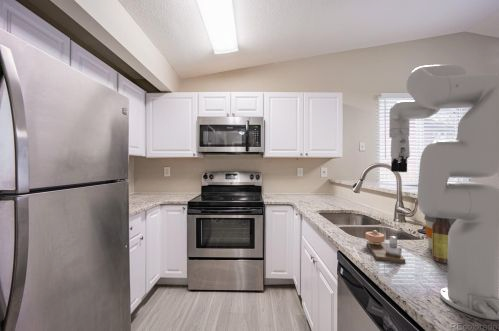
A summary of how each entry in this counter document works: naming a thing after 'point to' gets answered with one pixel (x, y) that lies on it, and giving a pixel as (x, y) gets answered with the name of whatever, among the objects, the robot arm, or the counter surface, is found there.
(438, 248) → the sauce bottle
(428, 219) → the reusable coffee cup
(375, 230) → the hub post
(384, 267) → the counter surface
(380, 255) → the board
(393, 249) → the storage rod
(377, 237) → the ring
